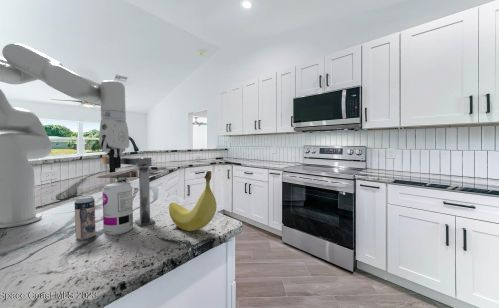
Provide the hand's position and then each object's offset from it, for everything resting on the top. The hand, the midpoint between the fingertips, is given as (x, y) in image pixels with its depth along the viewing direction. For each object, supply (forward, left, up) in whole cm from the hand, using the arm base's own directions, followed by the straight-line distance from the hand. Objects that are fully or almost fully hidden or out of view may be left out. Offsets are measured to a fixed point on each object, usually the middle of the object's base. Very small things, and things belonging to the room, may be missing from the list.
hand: (115, 168), depth 80 cm
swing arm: (-1, +4, +1) cm, 4 cm away
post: (+10, +6, -19) cm, 22 cm away
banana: (+27, +14, -19) cm, 36 cm away
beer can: (+10, -11, -19) cm, 24 cm away
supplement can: (+11, -2, -19) cm, 22 cm away
